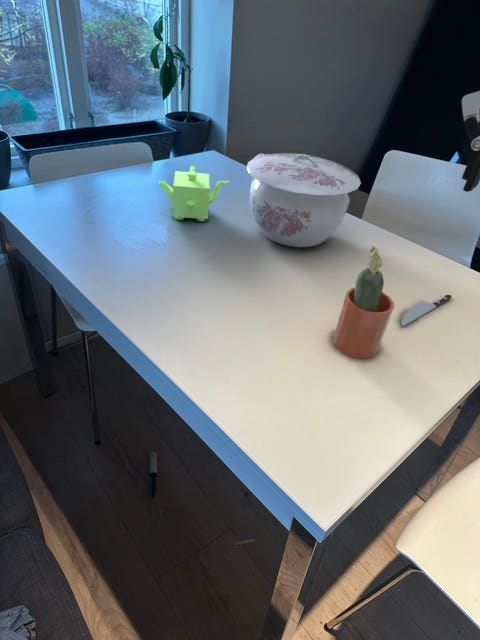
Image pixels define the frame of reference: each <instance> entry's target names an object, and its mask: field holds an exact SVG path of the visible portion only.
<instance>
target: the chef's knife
mask: <svg viewBox="0 0 480 640" xmlns="http://www.w3.org/2000/svg"><path fill="white" fill-rule="evenodd" d="M451 298H453V296H452V295H451V294H445V295H444V297H443V298H441V299H439V300H437V301H434V302H432V303H431V302H428V301H424V300H422V301H420V302H419V303H417V304H415V305H414V306H412V307H411V308H409V309H408V310H406V311H405V312H404V314H403V316H402V318H401V327H404V326H406V325H408V324H410V323H413V322H414V321H415V320H417V319H419V318H422V316H424V315H426V314H427V313H429V312H431V311H432V310H434V309H436V308H438V307H439V306H441V305H442V304H444V303H446V302H447V301H449V300H451Z"/></svg>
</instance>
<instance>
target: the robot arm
mask: <svg viewBox="0 0 480 640" xmlns="http://www.w3.org/2000/svg"><path fill="white" fill-rule="evenodd" d="M461 108H462V117H463V124H462V125H463V129H464V131H465V133H466V135H467V137H468V140H469V142H470V148H471V149H472V152H471V153H470V156H469V159H468V161H467V164H466V166H465V169H464V171H463V174H462V175H461V180H464V181H465V184H464V186H463V188H462V190H463V192H466V193H469V192H472V191H473V190H474V189H475V188H476V187H478V185H479V183H480V90H478V91H475V92H474V91H473V92H471V93H468V94H466V95H464V96H463V97H462V98H461Z"/></svg>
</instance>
